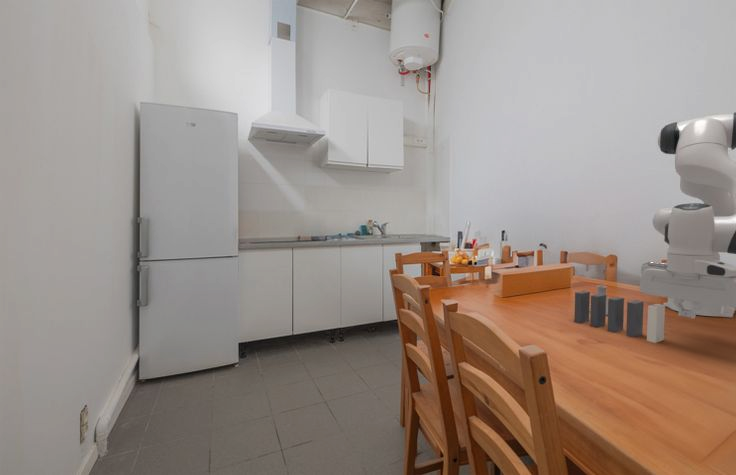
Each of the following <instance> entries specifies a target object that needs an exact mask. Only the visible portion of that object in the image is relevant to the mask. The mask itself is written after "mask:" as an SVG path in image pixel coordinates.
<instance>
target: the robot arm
mask: <svg viewBox="0 0 736 475" xmlns="http://www.w3.org/2000/svg"><path fill="white" fill-rule="evenodd" d="M657 145H658V147H659V149H660V151H661V152H662V153H663V154H666V155H675V157H674V169H675V172H676V174H678V176H679V177H680V178H679V179H680V180H679V181H680V182H679V189H680V191H681V193H683V194H685V195H687V196H689V197H692V198H694V199H697V200H700V201H702V202H703V203H700V202H699V203H698V202H697V203H695V202H694V203H681V204H678V205H675V206H668V207H665V208H664V207H663V208H660V209H658V210H657V211H656V212H655V213H654V215H653V218H652V225H653V228H654V229H655V230H656V231H657V233H660V234H661V235H662V236H664V238H663V239H664V240H663V241H664V242H665V243H666V244H668V249H667V251H666V262H654V261H648V262H646V263H643V264H642V265H641V266H640V274H641V278H640V282H639V291H640V292H641V293H642V294H643V295H650V296H654V297H655V296H657V297H663V298H667V302H662V303H663V304H662V305H665V308H666V307H667V308H669V309H670V310H672V311H677V312H678V316H679V317H683V318H689V319H696V316H706V317H721V318H734V315H733V314H735V312H736V265H733V264H730V263H727V262H723V261H720V260H721V255H720V253H727V254H732V255H733V254H734V255H736V162H735V161H734V160H732V159H731V158H730V156H729V153H728V152H729V150H728V149H730V148H731V150H735V149H736V112H734V113H722V114H714V115H713V114H712V115H706V116H704V117H702V116H701V117H697V118H692V119H687V120H685V121H684V120H682V121H680V122H677V121H676V122H672V123H669V124H667V125H664V127H663V128H661V130H660V132H659V134H658V138H657ZM734 311H735V312H734Z"/></svg>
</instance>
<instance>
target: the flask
mask: <svg viewBox="0 0 736 475" xmlns="http://www.w3.org/2000/svg"><path fill="white" fill-rule="evenodd" d="M596 289H597V291H596V294H604V295H606V316H608V299H609V298H608V297H607V289H608V287H607V286H606V285H596ZM589 313H591V307H589Z"/></svg>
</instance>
